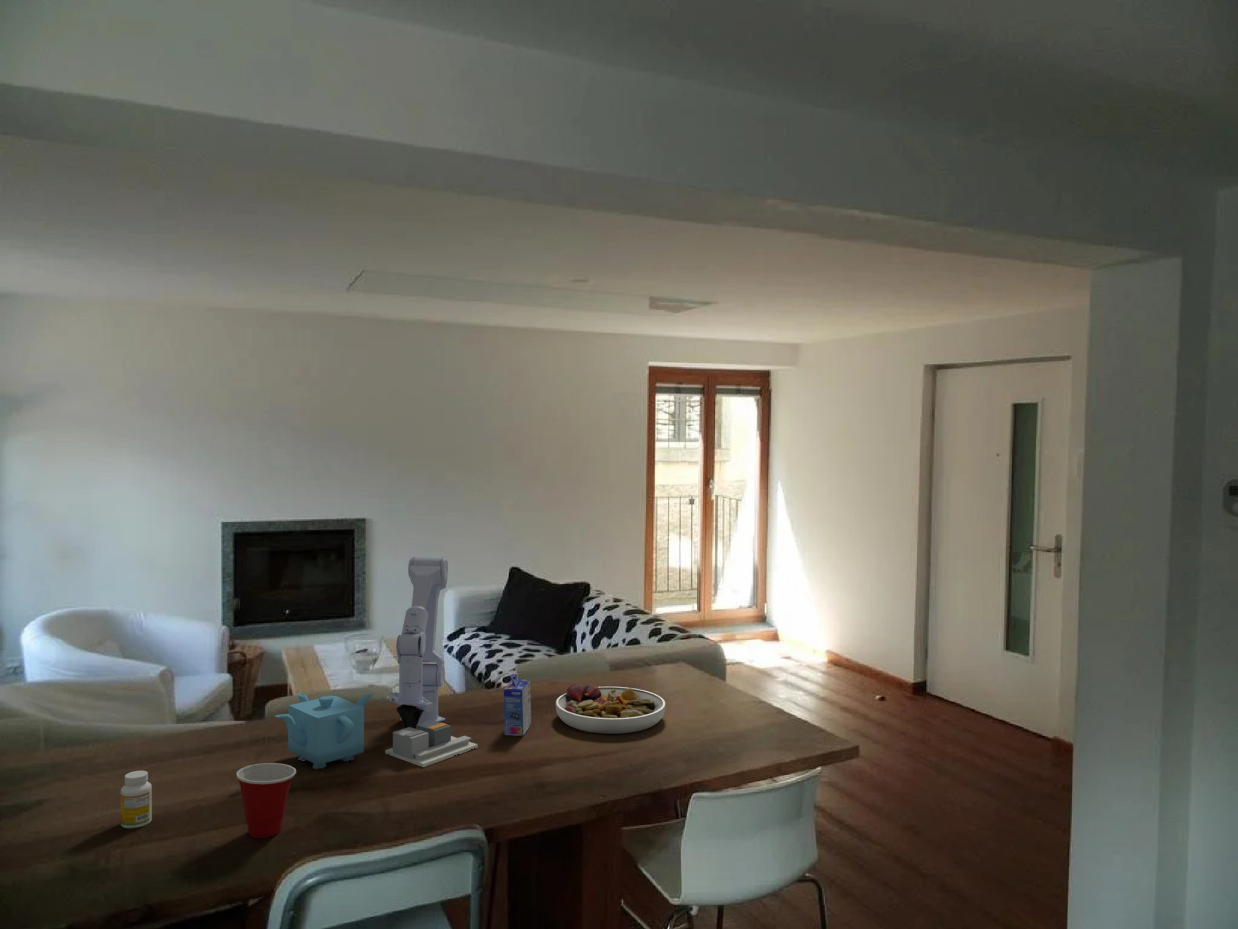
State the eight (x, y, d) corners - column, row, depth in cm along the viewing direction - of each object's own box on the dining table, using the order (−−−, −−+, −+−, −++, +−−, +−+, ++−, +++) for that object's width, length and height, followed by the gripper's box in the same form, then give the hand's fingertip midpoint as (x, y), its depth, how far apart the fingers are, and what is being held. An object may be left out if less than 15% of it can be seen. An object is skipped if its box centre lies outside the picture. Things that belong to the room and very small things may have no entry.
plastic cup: (303, 835, 169) (303, 773, 169) (243, 849, 163) (243, 785, 163) (287, 815, 178) (287, 756, 178) (230, 828, 172) (230, 767, 172)
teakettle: (354, 773, 201) (355, 709, 201) (270, 773, 200) (271, 709, 200) (374, 745, 220) (374, 686, 219) (297, 744, 219) (298, 685, 219)
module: (416, 745, 217) (416, 724, 217) (432, 739, 221) (432, 719, 221) (435, 751, 213) (435, 730, 213) (450, 746, 217) (450, 725, 217)
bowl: (684, 715, 247) (685, 687, 247) (627, 746, 222) (628, 715, 222) (595, 697, 263) (596, 671, 263) (533, 724, 238) (533, 695, 238)
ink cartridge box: (511, 723, 237) (511, 669, 237) (531, 724, 237) (531, 670, 236) (502, 735, 228) (503, 679, 227) (523, 736, 227) (524, 680, 227)
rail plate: (385, 753, 213) (385, 729, 213) (439, 735, 227) (440, 712, 227) (423, 767, 205) (423, 741, 205) (477, 747, 218) (477, 723, 218)
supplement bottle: (128, 817, 176) (128, 769, 176) (156, 817, 177) (156, 768, 176) (115, 829, 171) (115, 779, 171) (144, 829, 171) (144, 779, 171)
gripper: (379, 679, 223) (379, 732, 224) (417, 689, 215) (416, 745, 215) (402, 673, 229) (401, 725, 229) (439, 683, 220) (439, 737, 220)
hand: (410, 734), depth 222 cm, fingers closed
